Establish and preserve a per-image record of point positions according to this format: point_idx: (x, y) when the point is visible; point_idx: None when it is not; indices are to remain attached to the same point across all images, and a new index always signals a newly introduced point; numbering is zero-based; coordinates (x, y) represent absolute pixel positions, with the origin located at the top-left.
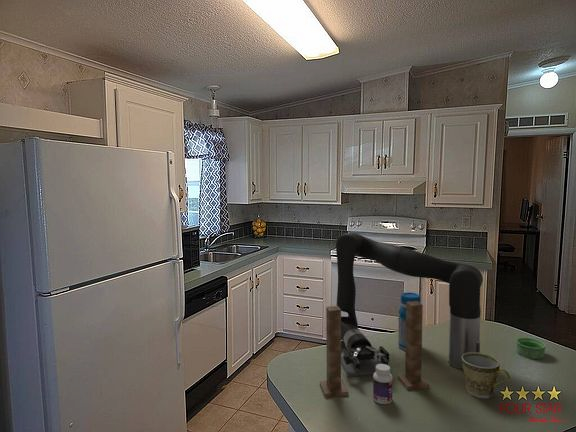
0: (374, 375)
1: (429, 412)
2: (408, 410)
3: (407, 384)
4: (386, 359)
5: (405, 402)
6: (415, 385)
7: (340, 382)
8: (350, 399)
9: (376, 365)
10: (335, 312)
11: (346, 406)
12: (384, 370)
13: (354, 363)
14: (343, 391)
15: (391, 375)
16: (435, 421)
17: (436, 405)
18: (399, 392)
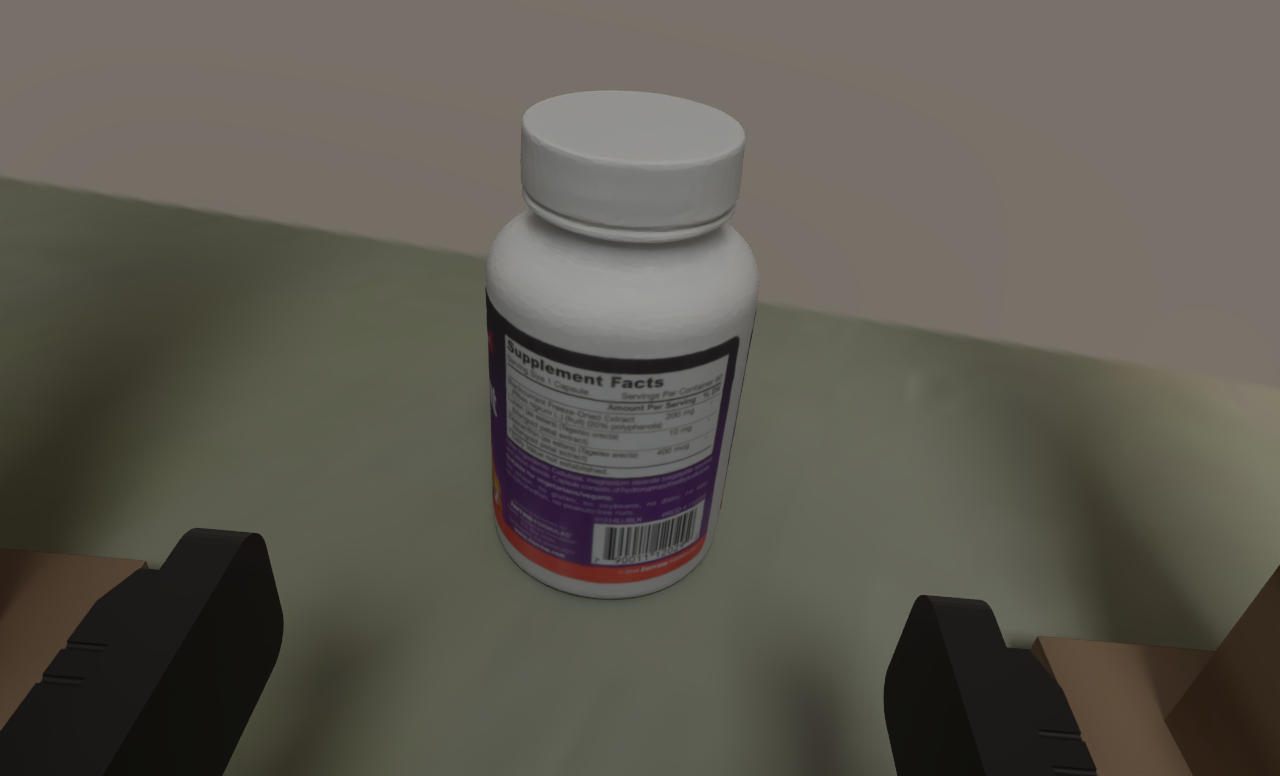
0: (750, 259)
1: (304, 322)
2: (454, 366)
3: (91, 594)
4: (59, 684)
5: (393, 440)
6: (11, 551)
7: (1225, 650)
8: (989, 600)
9: (719, 152)
10: None
11: (1032, 514)
12: (654, 93)
13: (1071, 750)
14: (1114, 656)
15: (513, 218)
16: (354, 267)
17: (150, 358)
18: (305, 585)
